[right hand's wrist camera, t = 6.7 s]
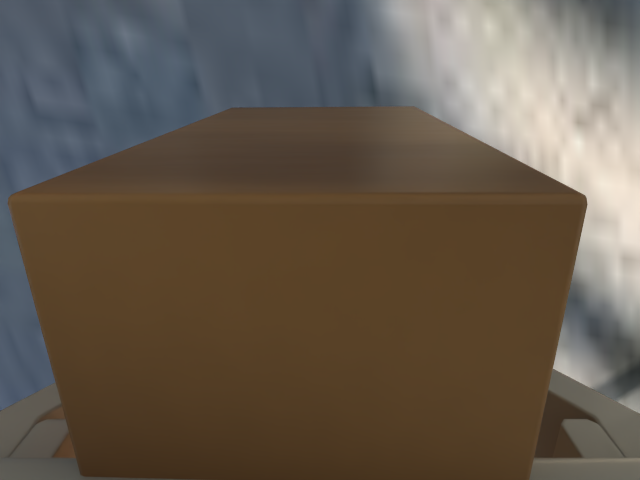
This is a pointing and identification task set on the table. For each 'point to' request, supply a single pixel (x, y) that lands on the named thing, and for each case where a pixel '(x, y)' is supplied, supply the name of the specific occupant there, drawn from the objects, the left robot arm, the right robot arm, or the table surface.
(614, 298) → the table surface
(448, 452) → the beam
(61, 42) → the table surface
